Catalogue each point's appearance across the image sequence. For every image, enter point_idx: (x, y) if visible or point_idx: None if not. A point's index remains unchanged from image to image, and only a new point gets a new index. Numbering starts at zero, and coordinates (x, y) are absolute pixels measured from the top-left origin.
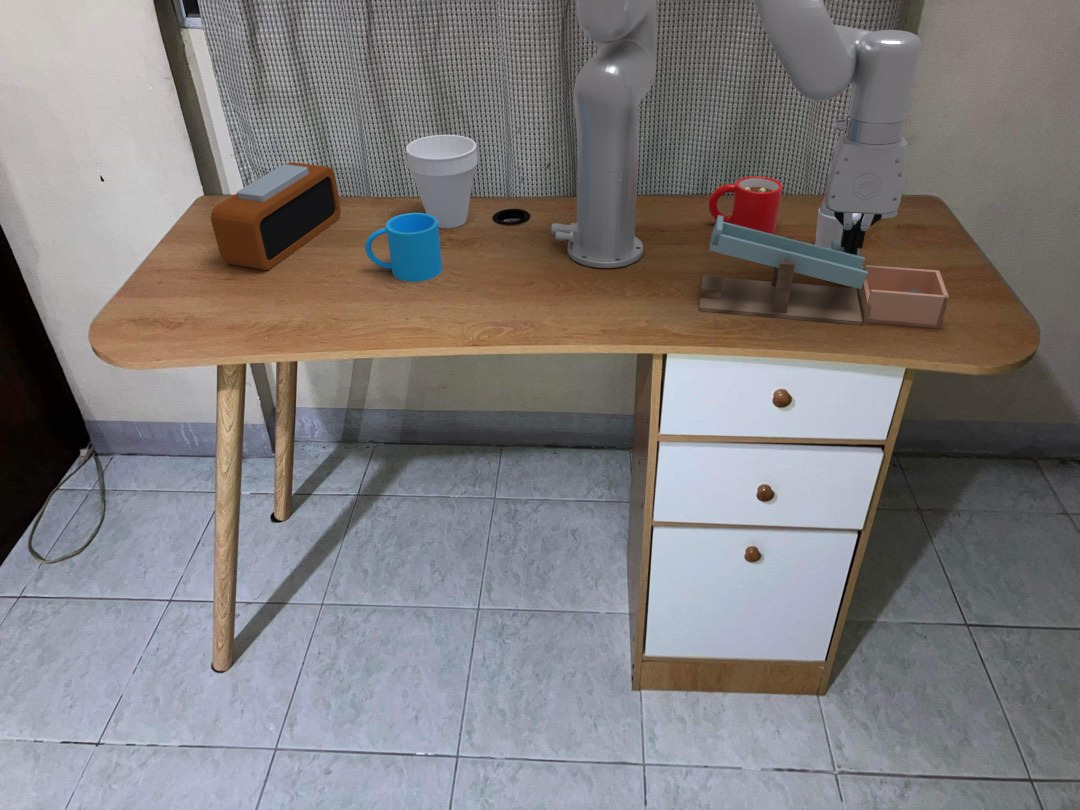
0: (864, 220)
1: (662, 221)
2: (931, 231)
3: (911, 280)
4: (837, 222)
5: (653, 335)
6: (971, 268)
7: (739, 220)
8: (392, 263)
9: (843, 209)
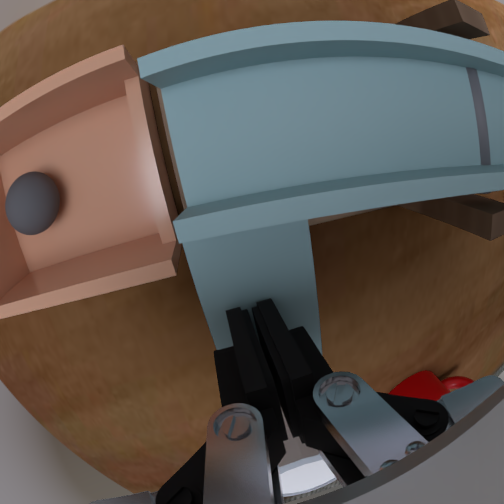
0: (256, 460)
1: (492, 340)
2: (144, 481)
3: (43, 282)
4: (311, 450)
5: (475, 5)
6: (45, 414)
7: (442, 384)
8: None
9: (500, 421)
